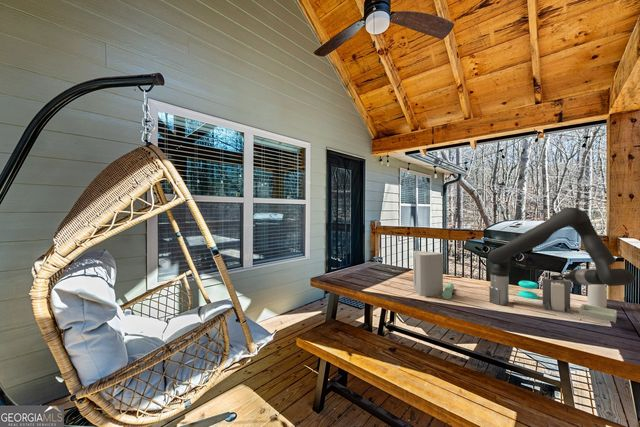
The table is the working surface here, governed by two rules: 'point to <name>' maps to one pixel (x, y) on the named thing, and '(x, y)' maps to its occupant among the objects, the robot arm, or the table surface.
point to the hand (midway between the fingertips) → (559, 276)
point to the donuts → (528, 286)
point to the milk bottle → (597, 295)
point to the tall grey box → (428, 273)
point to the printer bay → (548, 296)
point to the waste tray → (598, 312)
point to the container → (448, 291)
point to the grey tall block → (557, 295)
